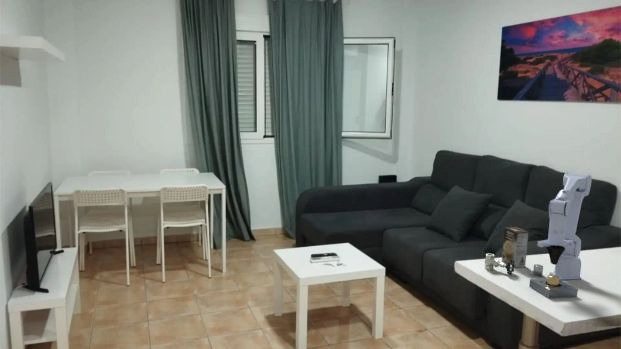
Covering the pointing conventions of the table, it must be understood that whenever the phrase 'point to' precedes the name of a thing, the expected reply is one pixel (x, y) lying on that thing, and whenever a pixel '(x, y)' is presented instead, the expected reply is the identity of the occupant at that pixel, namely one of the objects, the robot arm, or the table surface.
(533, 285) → the plate
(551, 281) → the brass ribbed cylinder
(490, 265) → the valve
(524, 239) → the coffee box
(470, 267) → the table surface
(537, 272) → the sleeve
